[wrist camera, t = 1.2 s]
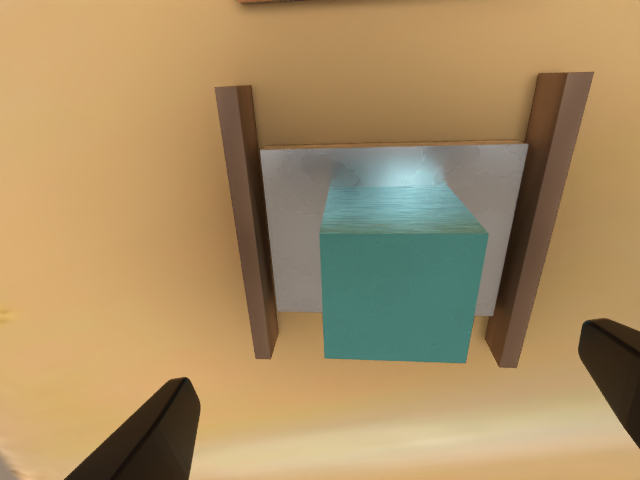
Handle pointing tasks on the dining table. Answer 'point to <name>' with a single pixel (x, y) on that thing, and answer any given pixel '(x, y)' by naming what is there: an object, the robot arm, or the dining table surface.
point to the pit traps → (262, 1)
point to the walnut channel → (526, 232)
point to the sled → (392, 241)
